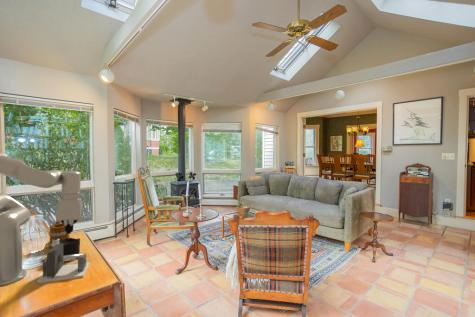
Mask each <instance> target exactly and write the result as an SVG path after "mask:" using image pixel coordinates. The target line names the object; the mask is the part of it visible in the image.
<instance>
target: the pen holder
mask: <svg viewBox="0 0 475 317" xmlns="http://www.w3.org/2000/svg"><path fill="white" fill-rule="evenodd" d="M62 243H63V256H65V255H75V254H80V249H81V248H80V247H81V238H74V237H69V238H66V239H63V240H61V241H60V242H59V244H62ZM71 261H73V260H69V261H63V263H64V262H65V263H67V262H71Z"/></svg>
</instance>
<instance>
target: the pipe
mask: <svg viewBox="0 0 475 317" xmlns="http://www.w3.org/2000/svg"><path fill="white" fill-rule="evenodd" d="M69 260H72V261H77V264H78V272H81V271H84V269H85V268H86V263H87V253H84V252H83V253H79V254H75V255H65V256H58V262H60V261H67V262H70V261H69ZM42 275H43V276H47V257H45V258H44V261H43V262H42Z"/></svg>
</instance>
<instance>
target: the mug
mask: <svg viewBox="0 0 475 317" xmlns="http://www.w3.org/2000/svg"><path fill="white" fill-rule="evenodd" d="M56 220H57V219H56V218H55V223H54V224H52V225H50V226H49V232H48V236H49V241H48V247H49V249H50V250H51V245H52V240H53V239H56V238H59V242H60V241H61V240H63V239H66V238H70V234H69V233H68V234H66V232H65V225H64V224H63V223H62V222H57V221H56Z"/></svg>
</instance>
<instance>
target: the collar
mask: <svg viewBox="0 0 475 317" xmlns="http://www.w3.org/2000/svg"><path fill="white" fill-rule="evenodd" d="M58 256H63V243H62V244H56V245H55V246H54V247H53V248H52V249H50V250H49V251H48V252H47V253H46V258H47V277H50V276H55V275H56V274H57V272H58V271H59V270H60V268H61V267H62V266H63V265H64V262H63V261H60V262H58Z"/></svg>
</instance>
